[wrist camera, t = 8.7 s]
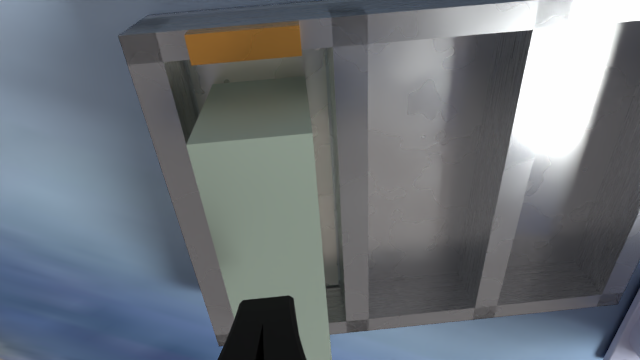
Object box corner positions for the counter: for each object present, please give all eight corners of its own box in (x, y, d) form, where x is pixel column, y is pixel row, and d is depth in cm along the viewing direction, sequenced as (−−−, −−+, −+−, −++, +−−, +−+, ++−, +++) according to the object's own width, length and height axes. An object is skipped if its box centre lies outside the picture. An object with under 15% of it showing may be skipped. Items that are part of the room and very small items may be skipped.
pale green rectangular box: (305, 76, 14) (312, 133, 10) (323, 279, 20) (332, 365, 16) (212, 84, 14) (186, 144, 10) (256, 286, 19) (249, 374, 16)
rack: (692, -31, 14) (798, -18, 11) (580, 261, 21) (626, 314, 18) (147, 15, 13) (109, 41, 11) (226, 297, 21) (217, 358, 18)
